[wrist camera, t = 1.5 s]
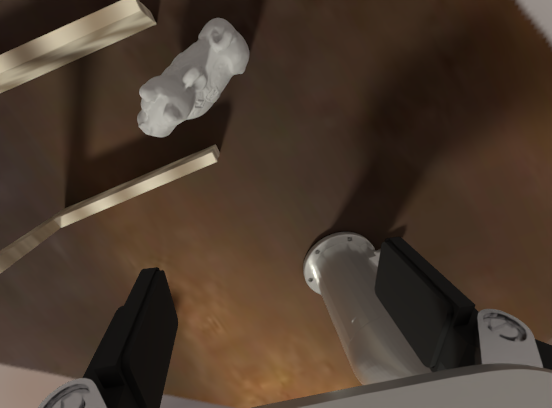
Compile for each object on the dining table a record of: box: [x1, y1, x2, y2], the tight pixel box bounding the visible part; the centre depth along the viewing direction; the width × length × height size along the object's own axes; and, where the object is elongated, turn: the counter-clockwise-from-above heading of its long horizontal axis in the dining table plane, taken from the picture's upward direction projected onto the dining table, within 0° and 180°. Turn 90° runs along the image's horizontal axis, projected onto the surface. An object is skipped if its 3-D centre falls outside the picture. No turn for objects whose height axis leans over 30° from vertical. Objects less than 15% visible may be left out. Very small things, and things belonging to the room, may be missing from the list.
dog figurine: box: [137, 18, 249, 137], centre depth 26 cm, size 5×13×11 cm, turn 134°
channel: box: [0, 0, 220, 273], centre depth 23 cm, size 22×16×19 cm
